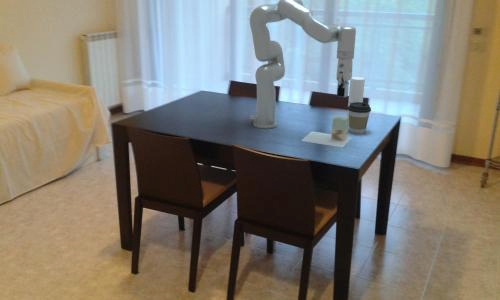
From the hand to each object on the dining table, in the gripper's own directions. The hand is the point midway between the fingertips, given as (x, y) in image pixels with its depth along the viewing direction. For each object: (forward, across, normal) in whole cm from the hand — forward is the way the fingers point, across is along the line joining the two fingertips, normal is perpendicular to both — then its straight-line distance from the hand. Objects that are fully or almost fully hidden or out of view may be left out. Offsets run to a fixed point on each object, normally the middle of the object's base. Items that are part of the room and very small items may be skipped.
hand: (342, 94), depth 221 cm
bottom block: (+21, 0, 0) cm, 21 cm away
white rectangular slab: (+23, -4, +5) cm, 23 cm away
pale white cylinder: (0, 0, 0) cm, 0 cm away
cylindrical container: (+23, +28, 0) cm, 36 cm away
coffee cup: (+23, +15, -5) cm, 28 cm away
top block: (+16, 0, 0) cm, 16 cm away
